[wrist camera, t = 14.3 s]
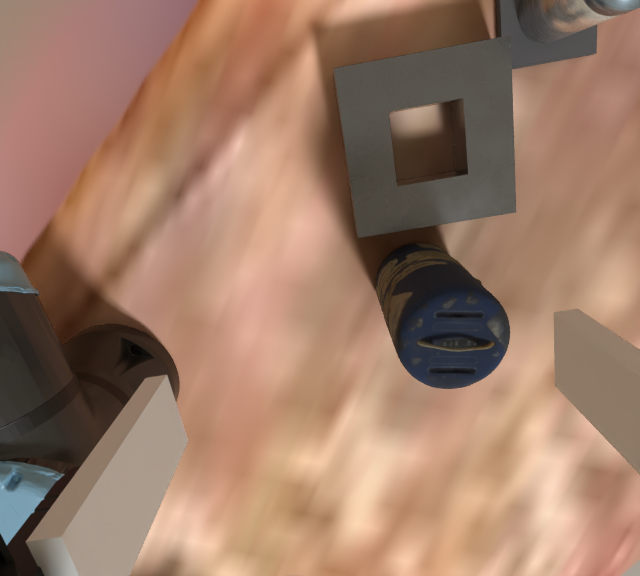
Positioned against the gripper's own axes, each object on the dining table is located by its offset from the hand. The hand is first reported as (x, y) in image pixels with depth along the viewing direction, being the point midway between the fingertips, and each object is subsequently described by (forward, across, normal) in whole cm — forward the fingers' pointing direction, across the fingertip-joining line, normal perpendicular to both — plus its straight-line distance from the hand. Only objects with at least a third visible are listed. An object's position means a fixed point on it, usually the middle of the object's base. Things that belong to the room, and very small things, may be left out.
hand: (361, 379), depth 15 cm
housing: (+36, +10, +6) cm, 38 cm away
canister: (+36, +8, -9) cm, 39 cm away
